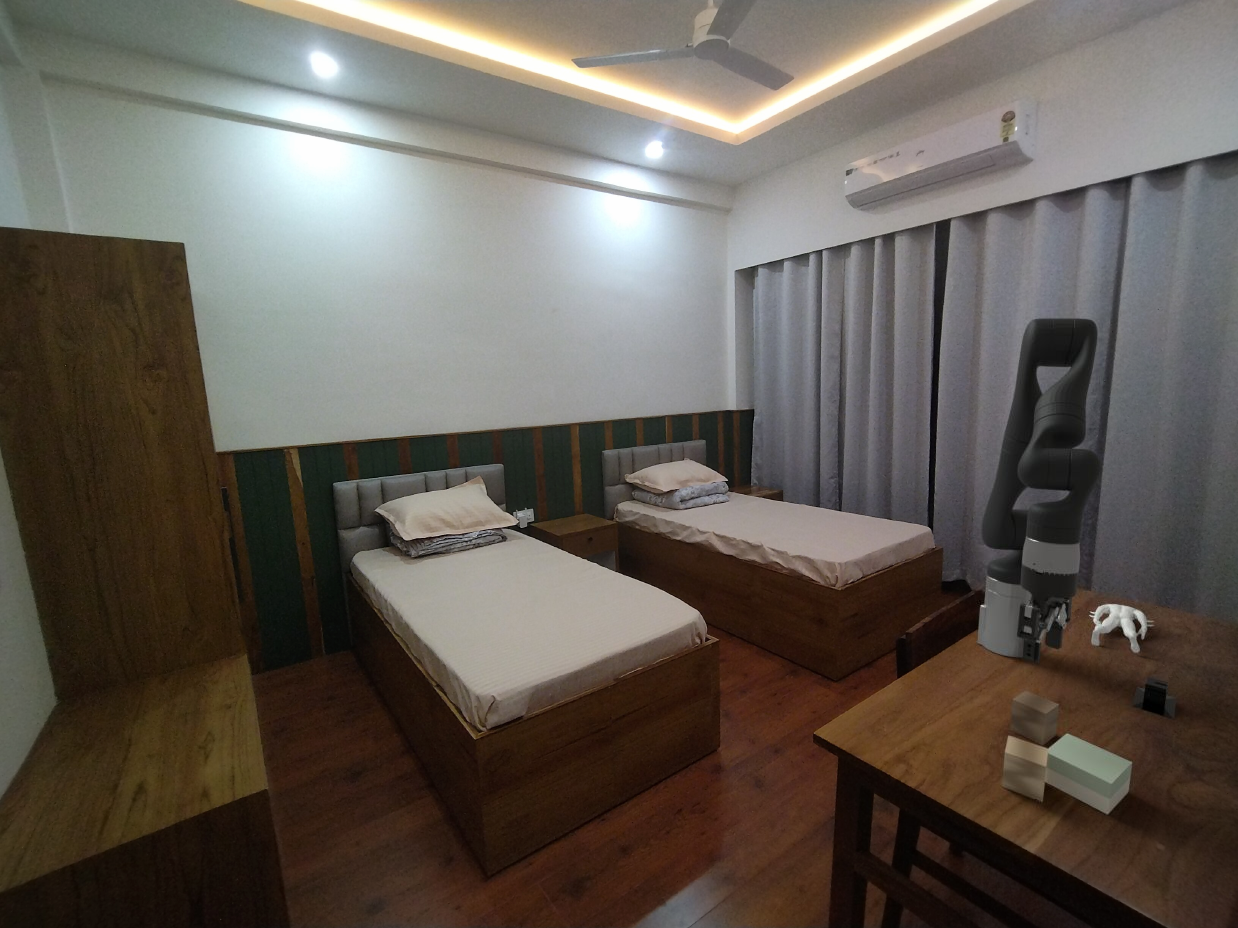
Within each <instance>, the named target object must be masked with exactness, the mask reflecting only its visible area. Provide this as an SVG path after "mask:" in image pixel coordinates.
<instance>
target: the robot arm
mask: <svg viewBox="0 0 1238 928" xmlns="http://www.w3.org/2000/svg"><path fill="white" fill-rule="evenodd" d="M1098 335H1099V334H1098V327H1097V324H1096V322H1095V321H1093V320H1092V319H1089V318H1075V317H1074V318H1062V317H1061V318H1050V317H1049V318H1047V317H1046V318H1035V319H1032V320H1031V321H1029V323H1028V324H1027V326H1026V327H1025V330H1024V333H1023V335H1022V340H1021V346H1020V351H1019V359H1018V366H1017V372H1016V380H1015V387H1014V393H1013V397H1012V403H1011V406H1010V410H1009V414H1008V418H1007V421H1006V426H1005V429H1004V434H1003V439H1002V443H1001V448H1000V455H999V460H998V465H997V466H998V467H997V471H996V475H995V479H994V483H993V486H992V489H991V492H990V496H989V499H988V502H987V504H986V507H985V510H984V514H983V517H982V522H981V533H980V534H981V538H982V540H983V543H984V545H985V546H987V547H988V548H990V549H991V550H992V549H993V550H1000V551H1001V550H1004V551H1011V552H1010V553H1009V554H1007V555H1005V556H1002V557H1000V558H996V559H994V560H991V561H990V562H989V563H988V564H987V567H986V579H985V580H986V583H985V594H984V603H983V604H981V605H980V607H979V619H978V630H977V631H978V633H977V634H978V635H977V644H979V645H982V647H984V648H985V649H987V650H988V651H990V652H993V653H995V654H998V655H1001V656H1005V657H1010V658H1023V659H1024V660H1025V661H1027V662H1030V663H1032V664H1038V663H1039V662H1041V652H1042V651H1041V649H1042V641H1043V638H1045V639H1044V644H1045V646H1047V647H1049V648H1052V649H1055V650H1061V648H1062V645H1063V635H1064V630H1065V629H1066V628H1067V624H1069V623H1070V622H1071V621H1072V619H1071V618H1072V617H1071V615H1072V602H1073V598H1074V597H1076V595H1077V594H1078V585H1079V584H1078V582H1079V574H1080V573H1079V571H1080V563H1081V550H1080V540H1081V530H1082V521H1083V516H1084V512H1085V508H1086V507H1087V503H1088V502H1089V499H1090V497H1091V495H1092V493H1093V491H1094V488H1095V487H1096V485H1097V483H1098V481H1099V479H1100V477H1101V474H1102V469H1103V467H1102V466H1103V464H1102V460H1101V459H1100V457H1099V456H1098V454H1097V453H1096V452H1094V451H1093V450H1090V449H1086V448H1085V449H1084V448H1077V447H1079V446H1081V444H1083V442H1084V441H1085V439H1086V433H1087V417H1086V416H1087V413H1086V411H1087V397H1088V393H1089V388H1090V384H1091V379H1092V374H1093V370H1094V369H1093V368H1094V365H1095V364H1094V363H1095V358H1096V352H1097V345H1098V338H1099V337H1098ZM1039 367H1045V368H1047V367H1050V368H1051V367H1052V368H1069V370H1068V371H1067V372H1066V373H1065V374H1064V375H1063V376H1062V377H1061V378H1060V379H1059V380H1057V381H1056V382H1054V383H1053V385H1051V386H1050V387H1048V389H1047V390H1045V391H1044V393H1043V392H1042V389H1041V387H1040V383H1039V381H1038V374H1037V373H1038V372H1037V371H1038V368H1039ZM1027 488H1029V489H1033V490H1034V489H1035V490H1047V491H1048V490H1049V491H1063V492H1065V491H1066V492H1068V494H1067V496H1065V497H1063V498H1062V499H1060V500H1059V499H1058V500H1054V501H1047V502H1046V501H1045V502H1037V503H1036V502H1035V503H1033V504H1032V505H1030V506H1029V508H1028V509H1024V508H1023V509H1021V508H1019V509H1018V508H1015V509H1014V507H1015V504H1016V503H1017V501H1018V499H1019V498H1020V496H1021V494H1023V492H1024V491H1026V489H1027ZM1044 634H1045V636H1044Z"/></svg>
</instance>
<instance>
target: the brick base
mask: <svg viewBox="0 0 1238 928" xmlns="http://www.w3.org/2000/svg"><path fill="white" fill-rule="evenodd" d="M1047 749H1048V756H1047V765H1046V775H1045V783H1047V784H1048V785H1051V786H1052V787H1055V788H1057V789H1058V790H1059V791H1062V792H1063V793H1066V794H1067V795H1069V796H1071V797H1074V798H1076V799H1077V800H1079V801H1081V802H1083V803H1085V804H1087V805H1089V806H1090V807H1092V808H1094V809H1096V810H1098V811H1099V812H1102V813H1104V814H1106V815H1109V814H1110V813H1111V812H1112V811H1113V810H1114V808H1115V807H1116V806H1117V805H1118V804H1119V803H1120V802H1121V801H1122V799H1124V798H1125V796H1126V795H1127V794H1129V790H1130V782H1131V777H1132V776H1131V775H1132V768H1133V761H1130V760H1128V759H1126V758H1123V757H1121V756H1119V755H1117V754H1114V753H1113V752H1110V751H1108V750H1105V749H1104V748H1102V747H1099V746H1096V745H1094V744H1092V743H1090V742H1088V741H1085V740H1084V739H1082V738H1079V737H1077V736H1075V735H1073V734H1069V733H1066V734H1064V735H1063V736H1061V737H1060V738H1059V739H1058V740H1056V742H1055V743H1053V744H1051V746H1049V748H1047Z"/></svg>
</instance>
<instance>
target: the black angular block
mask: <svg viewBox="0 0 1238 928" xmlns="http://www.w3.org/2000/svg"><path fill="white" fill-rule="evenodd" d="M1168 687H1169V682H1168V681H1165V680H1161V679H1157V678H1154V677H1150V676H1147V677H1146V679H1145V685H1144V688H1142V687H1138V686H1137V687H1136V690H1135V695H1134V698H1133V700H1132V704H1131V707H1133V708H1137V709H1139V710H1143V711H1146V712H1149V713H1152V714H1155V715H1159V716H1162V717H1164V718H1168V719H1171V720H1175V715H1176V703H1177V697H1174V696H1171V695H1167V693H1168Z"/></svg>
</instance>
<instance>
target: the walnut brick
mask: <svg viewBox="0 0 1238 928" xmlns="http://www.w3.org/2000/svg"><path fill="white" fill-rule="evenodd" d="M1059 709H1060V704H1059V703H1057V702H1054V701H1052V700H1049V699H1047V698H1045V697H1042V696H1040V695H1038V694H1035V693H1032V692H1031V691H1027V690H1025V691H1023V692H1021V693H1020V694H1019V695H1017V696H1016V697H1015V696H1014V698H1013V699H1012V702H1011V715H1010V723H1009V730H1010V731H1011V732H1014V733H1016V734H1018V735H1020V736H1022V737H1024V738H1027V739H1028V740H1031V741H1032V742H1035V743H1036V744H1039V745H1040V746H1045V745H1046V743H1048V742H1049V741H1050V740H1052V739H1053V738H1054V737H1056V736H1057V728H1058V719H1059Z"/></svg>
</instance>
